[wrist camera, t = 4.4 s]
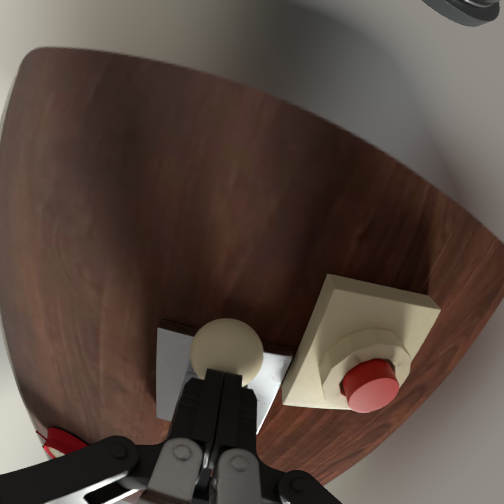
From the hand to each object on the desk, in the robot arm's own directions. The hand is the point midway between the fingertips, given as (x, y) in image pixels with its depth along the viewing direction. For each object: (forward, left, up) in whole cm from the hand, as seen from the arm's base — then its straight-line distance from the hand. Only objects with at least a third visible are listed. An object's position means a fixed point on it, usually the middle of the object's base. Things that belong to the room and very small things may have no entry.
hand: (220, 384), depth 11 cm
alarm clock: (+38, -19, -9) cm, 43 cm away
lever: (+5, 0, -1) cm, 5 cm away
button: (+3, +10, -5) cm, 12 cm away
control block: (+3, +10, -9) cm, 14 cm away
